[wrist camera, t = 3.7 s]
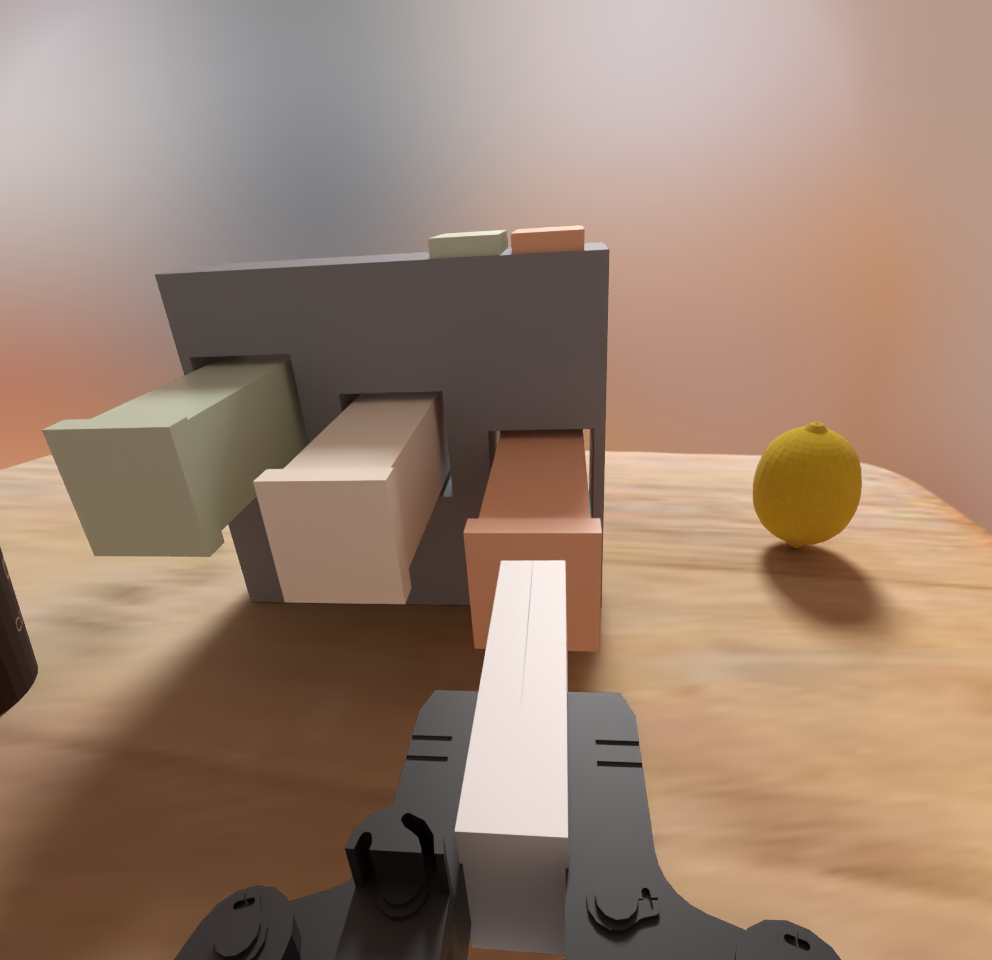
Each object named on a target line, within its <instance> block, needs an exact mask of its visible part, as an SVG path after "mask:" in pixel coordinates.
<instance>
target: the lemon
mask: <svg viewBox="0 0 992 960" xmlns="http://www.w3.org/2000/svg"><path fill="white" fill-rule="evenodd" d="M861 487H862V479H861V466H860V461H859V458H858V455H857V453H856V451H855V450H854V449H853V447H852V446H851V445H850V443H849V442H848V441H847V440H846V439H844V438H843V437H842V436H841V435H839V434H838V433H836V432H834V431H832V430H829V429H827V428H826V427H825V426H824V424H822V423H819V422H811V423H810V424H808V425H807V426H805V427H799V428H795V429H792V430H790V431H787V432H786V433H784V434H782V435H780V436H779V437H777V438H776V439H775V440H773V441H772V443H771V444H770V445H769V446H768V447H767V449H766V450H765V452H764V453H763V455H762V457H761V459H760V461H759V464H758V466H757V469H756V472H755V476H754V482H753V502H754V508H755V511H756V513H757V515H758V517H759V519H760V521H761V523H762V524H763V525H764V527H765V528H766V529H767V530H768V531H770V532H771V533H772V534H773V535H775V536H776V537H778V538H780V539H782V540H784V541H785V542H786V543H787V544H788V545H789V546H791V547H793V548H799V547H801V546H803V545H809V544H817V543H821V542H824V541H826V540H829V539H831V538H832V537H834V536H836V535H837V534H839V533H840V532H841V531H842V530H843V529H844V528H845V527H846V526H847V525H848V523H849V522H850V520H851V519H852V517H853V516H854V514H855V512H856V510H857V507H858V504H859V501H860V496H861Z"/></svg>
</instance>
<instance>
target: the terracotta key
mask: <svg viewBox="0 0 992 960" xmlns="http://www.w3.org/2000/svg"><path fill="white" fill-rule="evenodd" d="M463 534H464V545H465V555H466V565H467V576H468V586H469V596H470V607H471V617H472V627H473V638H474V648H475V649H486V646H487V640H488V634H489V628H490V622H491V616H492V611H493V605H494V599H495V593H496V587H497V582H498V576H499V570H500V564H501V561H550V560H565V566H566V612H567V651H589V652H599V650H600V603H601V556H602V529H601V521H600V518H591V516H590V505H589V494H588V483H587V472H586V461H585V450H584V440H583V429H553V430H503V431H501V434H500V438H499V442H498V445H497V449H496V453H495V457H494V461H493V464H492V468H491V472H490V476H489V480H488V483H487V487H486V491H485V495H484V499H483V502H482V506H481V510H480V514H479V518H478V519H467V523H466V526H465V529H464V533H463Z"/></svg>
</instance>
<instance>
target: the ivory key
mask: <svg viewBox="0 0 992 960" xmlns="http://www.w3.org/2000/svg"><path fill="white" fill-rule="evenodd" d="M449 471H450V463H449V453H448V443H447V433H446V423H445V414H444V404H443V394H442V391H432V392H397V393H362V394H360V395H359V396H358V397H357V398H356V399H355V400H354V401H353V402H352V403H351V404H350V405H349V406H348V407H347V408H346V409H345V410H344V411H343V412H342V413H341V414H340V415H339V416H338V417H337V418H335V419H334V420H333V421H332V422H331V423H330V424H329V425H328V426H327V427H326V428H325V429H324V430H323V431H322V432H321V433H320V434H319V435H318V436H317V437H316V438H315V439H314V440H313V441H312V442H311V443H310V444H308V445H307V446H306V447H305V448H304V449H303V450H302V451H301V452H300V453H299V454H298V455H297V456H296V457H295V458H294V459H293V460H292V461H291V462H290V463H289V464H288V465H287V466H286V467H285V468H284V469H266V470H265V471H264V472H263V473H262V474H261V475H260V476H259V477H257V478H256V479H255V480H254V481H253V483H254V487H255V491H256V495H257V499H258V502H259V506H260V510H261V514H262V518H263V521H264V525H265V529H266V533H267V537H268V540H269V544H270V548H271V552H272V555H273V559H274V563H275V567H276V571H277V574H278V578H279V582H280V586H281V590H282V593H283V597H284V601H285V602H290V603H355V604H405V603H406V601H407V598H408V596H409V593H410V590H411V581H410V574H409V567H410V564H411V562H412V559H413V557H414V555H415V552H416V550H417V547H418V545H419V543H420V540H421V538H422V535H423V533H424V531H425V528H426V526H427V523H428V521H429V519H430V516H431V514H432V511H433V509H434V507H435V504H436V502H437V499H438V497H439V495H440V492H441V490H442V487H443V485H444V483H445V480H446V478H447V475H448V473H449Z"/></svg>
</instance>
